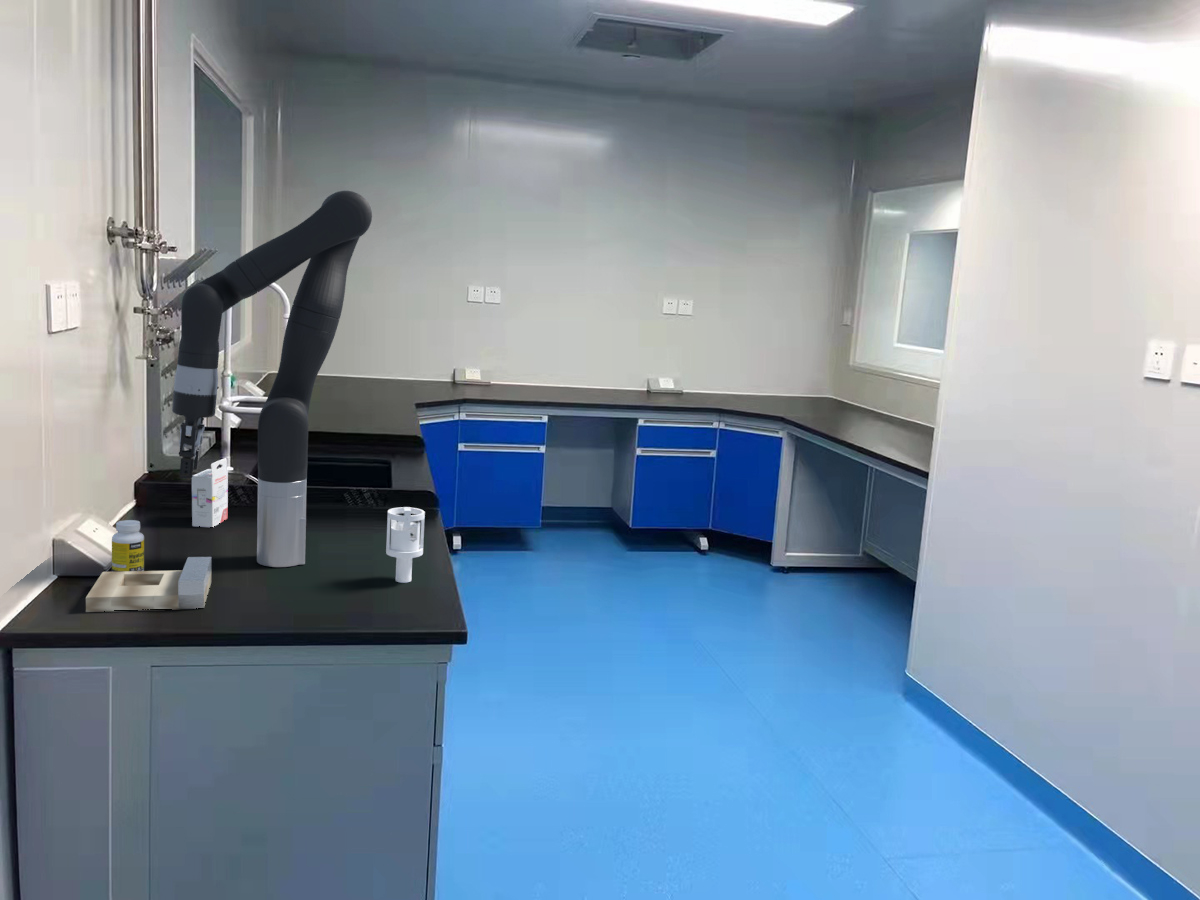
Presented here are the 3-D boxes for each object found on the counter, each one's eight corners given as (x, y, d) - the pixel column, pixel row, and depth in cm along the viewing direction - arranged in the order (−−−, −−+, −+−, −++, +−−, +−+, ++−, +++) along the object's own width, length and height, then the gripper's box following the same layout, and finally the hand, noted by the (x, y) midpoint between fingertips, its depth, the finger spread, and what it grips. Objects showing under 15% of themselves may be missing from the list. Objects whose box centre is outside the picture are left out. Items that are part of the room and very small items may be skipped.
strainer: (385, 586, 178) (388, 510, 175) (384, 574, 184) (387, 501, 182) (423, 585, 180) (426, 510, 177) (420, 574, 186) (423, 501, 184)
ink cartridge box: (207, 517, 216) (207, 455, 214) (228, 519, 216) (228, 457, 214) (190, 526, 208) (190, 462, 205) (212, 528, 208) (213, 463, 205)
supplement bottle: (131, 579, 171) (130, 527, 169) (105, 575, 172) (104, 524, 170) (150, 571, 176) (150, 520, 174) (125, 567, 177) (125, 517, 175)
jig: (211, 582, 172) (211, 556, 171) (203, 608, 159) (203, 580, 158) (102, 585, 166) (102, 558, 166) (86, 612, 153) (85, 583, 152)
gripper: (213, 397, 170) (206, 483, 173) (220, 387, 184) (212, 467, 186) (169, 392, 168) (161, 479, 170) (178, 383, 181) (172, 464, 184)
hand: (188, 473), depth 178 cm, fingers open, 8 cm apart
